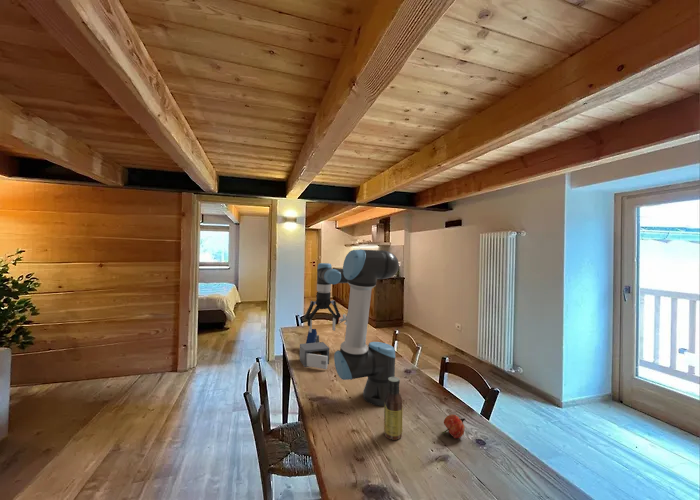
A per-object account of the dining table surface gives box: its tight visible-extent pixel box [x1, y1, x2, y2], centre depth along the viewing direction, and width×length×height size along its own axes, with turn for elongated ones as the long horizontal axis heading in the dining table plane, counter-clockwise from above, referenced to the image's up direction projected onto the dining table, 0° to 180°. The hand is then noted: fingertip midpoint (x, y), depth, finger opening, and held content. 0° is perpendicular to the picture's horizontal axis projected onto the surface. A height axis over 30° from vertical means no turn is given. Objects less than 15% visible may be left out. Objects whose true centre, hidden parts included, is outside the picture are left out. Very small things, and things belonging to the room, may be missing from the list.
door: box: [306, 353, 328, 370], centre depth 163 cm, size 2×12×7 cm, turn 72°
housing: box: [299, 341, 330, 368], centre depth 173 cm, size 12×14×9 cm
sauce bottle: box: [383, 376, 404, 441], centre depth 105 cm, size 6×6×20 cm
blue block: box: [305, 328, 320, 344], centre depth 193 cm, size 6×20×15 cm, turn 174°
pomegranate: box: [442, 414, 467, 439], centre depth 107 cm, size 7×7×10 cm
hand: (322, 331), depth 166 cm, fingers open, 12 cm apart
